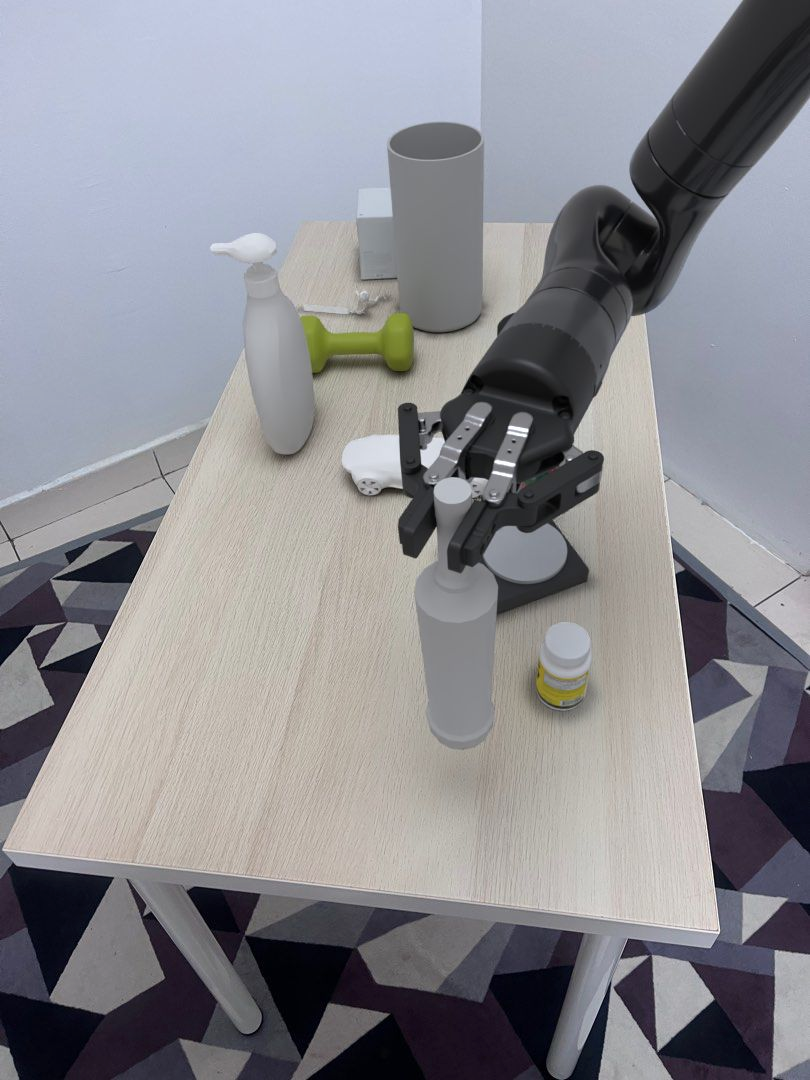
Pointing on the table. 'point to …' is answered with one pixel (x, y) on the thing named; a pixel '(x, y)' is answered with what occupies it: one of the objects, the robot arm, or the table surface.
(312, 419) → the soap bottle
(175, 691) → the table surface
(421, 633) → the bottle
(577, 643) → the supplement bottle
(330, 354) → the dumbbell
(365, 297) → the action figure
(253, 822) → the table surface
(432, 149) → the cylinder vase
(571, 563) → the scale
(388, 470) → the toy car
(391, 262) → the cosmetics box
